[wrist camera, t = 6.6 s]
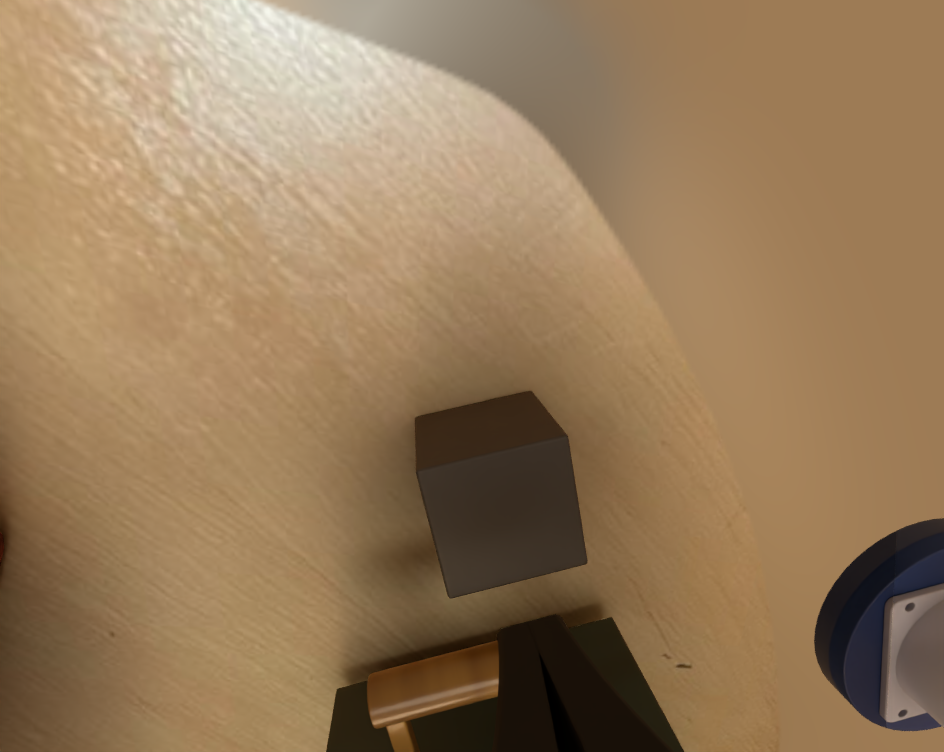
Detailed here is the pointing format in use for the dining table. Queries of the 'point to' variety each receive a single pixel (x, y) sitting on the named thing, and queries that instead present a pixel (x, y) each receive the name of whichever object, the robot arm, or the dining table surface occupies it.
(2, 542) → the flower pot
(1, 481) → the dining table surface
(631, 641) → the dining table surface
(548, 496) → the block
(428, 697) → the drawer
